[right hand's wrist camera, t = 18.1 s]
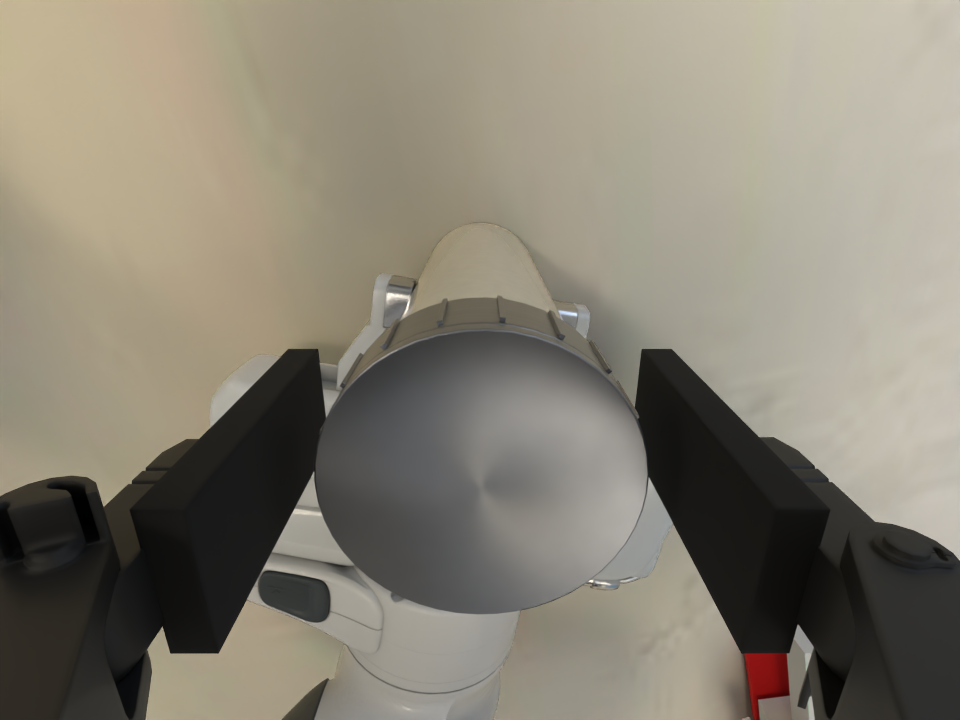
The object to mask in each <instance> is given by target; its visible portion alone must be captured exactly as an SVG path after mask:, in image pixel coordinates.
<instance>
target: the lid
mask: <svg viewBox="0 0 960 720" xmlns="http://www.w3.org/2000/svg"><path fill="white" fill-rule="evenodd" d="M611 372H612V370H611V369H610V367H609V365H608V364H607V362H606V360H605V359H604V357H603V356H602V354H601V352H600V351H599V349H598V347H597V346H596V344H595V343H594V342H593V340H591V341H590V342H588V341H587V340H586V339H585V338H584V337H583V336H582V335H581V334H580V333H579V332H578V331H577V330H575V329H574V328H573V327H571V326H570V325H568V324H567V323H566V322H564V321H563V320H561V319H560V318H558V317H556V315H555V313H554V311H552V310H549V312H546V311H544V310H542V309H539V308H536V307H534V306H531V305H528V304H525V303H521V302H516V301H512V300H507V299H503V297H502V295H497V298H488V297H480V298H463V299H457V300H451V301H448V299H447V298H445V299H442V302H441V303H439V304H435V305H432V306H429V307H426V308H424V309H421V310H419V311H417V312H415V313H412V314H410V315H408V316H407V317H405V318H404V319H402V320H400V321H399V320H398V318H397V319H395V320H394V321H393V323H392V325H391V326H390V328H389V329H388V330H386V331H385V332H384V333H383V334H382V335H380V336H379V337H378V338H377V339H376V340H375V342H374V343H373V344H372V345H371V346H370V347H369V348H368V349H367V350H366V352H365V353H364V355H363V354H362V353H359V355H358V356H357V358H356V360H355V361H354V363H353V365H352V366H351V368H350V369H349V371H348V373H347V374H346V376H345V378H344V379H343V381H342V383H341V384H340V387H341V388H343V389H342V390H341V392H340V394H339V396H338V397H337V399H336V401H335V402H334V404H333V406H332V407H331V409H330V411H329V413H328V416H327V418H326V420H325V422H324V424H323V426H322V427H321V429H320V432H319V435H320V436H319V439H318V443H317V447H316V454H315V462H314V482H315V489H316V494H317V500H318V504H319V507H320V510H321V513H322V516H323V519H324V521H325V523H326V525H327V527H328V529H329V531H330V533H331V535H332V537H333V538H334V540H335V541H336V543H337V544H338V546H339V547H340V549H341V550H342V551H343V553H344V554H345V555H346V556H347V557H348V558H349V559H350V560H351V561H352V563H353V564H354V565H355V566H356V567H357V568H359V569H360V570H361V571H362V572H363V573H364V574H365V575H367V576H368V577H369V578H370V579H372V580H373V581H375V582H376V583H378V584H379V585H381V586H382V587H384V588H385V589H387V590H389V591H391V592H393V593H394V594H396V595H398V596H400V597H402V598H405V599H407V600H410V601H412V602H415V603H417V604H420V605H423V606H427V607H430V608H434V609H438V610H443V611H449V612H454V613H464V614H500V613H508V612H515V611H520V610H524V609H529V608H533V607H536V606H539V605H542V604H545V603H548V602H551V601H554V600H556V599H558V598H560V597H562V596H564V595H566V594H569V593H571V592H572V591H574V590H576V589H577V588H579V587H581V586H582V585H584V584H585V583H587V582H588V581H590V580H591V579H592V578H593V577H595V576H596V575H597V574H599V573H600V572H601V571H602V570H603V569H604V568H605V567H606V566H607V565H608V564H609V563H610V562H611V561H612V560H613V559H614V558H615V557H616V556H617V555H618V553H619V552H620V551H621V549H622V548H623V547H624V546H625V544H626V543H627V541H628V540H629V538H630V536H631V534H632V533H633V531H634V529H635V528H636V525H637V523H638V520H639V518H640V516H641V513H642V511H643V507H644V503H645V499H646V495H647V490H648V479H649V463H648V452H647V447H646V443H645V438H644V434H643V432H642V429H641V427H640V424H639V422H638V418H639V415H638V413H637V411H636V409H635V408H634V406H633V404H632V403H631V401H630V400H629V398H628V396H627V395H626V393H625V391H624V390H623V388H622V387H621V385H620V383H619V382H618V381H615V379H614V378H613V376H612V374H611Z"/></svg>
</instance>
